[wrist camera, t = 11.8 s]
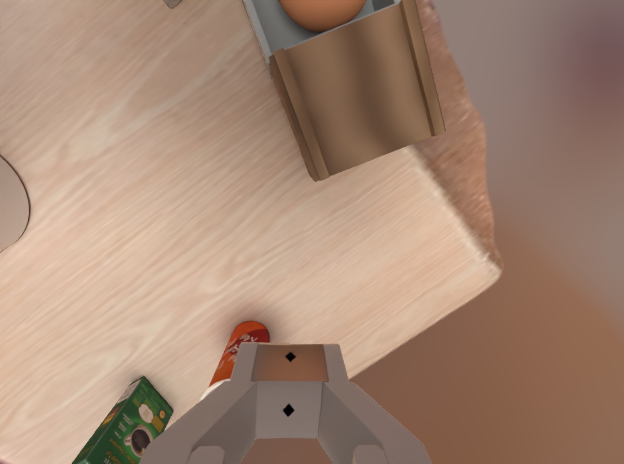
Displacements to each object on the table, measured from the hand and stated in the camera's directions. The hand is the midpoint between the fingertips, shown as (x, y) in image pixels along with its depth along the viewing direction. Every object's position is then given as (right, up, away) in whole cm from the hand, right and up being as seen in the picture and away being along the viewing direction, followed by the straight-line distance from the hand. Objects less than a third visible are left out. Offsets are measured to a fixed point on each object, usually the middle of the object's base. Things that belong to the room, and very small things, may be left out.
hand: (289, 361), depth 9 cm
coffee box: (-24, -22, +37) cm, 49 cm away
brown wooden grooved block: (+5, +19, +27) cm, 34 cm away
